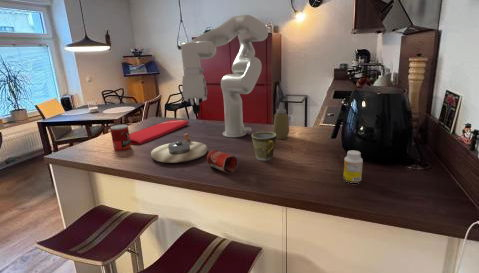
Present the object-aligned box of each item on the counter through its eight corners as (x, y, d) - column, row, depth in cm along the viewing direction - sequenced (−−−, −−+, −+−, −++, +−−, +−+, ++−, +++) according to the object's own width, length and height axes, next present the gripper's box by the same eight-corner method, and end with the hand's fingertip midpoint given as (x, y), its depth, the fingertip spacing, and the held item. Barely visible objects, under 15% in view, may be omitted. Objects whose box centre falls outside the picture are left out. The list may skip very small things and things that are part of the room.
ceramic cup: (248, 156, 121) (247, 133, 118) (269, 152, 125) (268, 130, 122) (262, 166, 110) (262, 142, 107) (285, 162, 114) (285, 137, 111)
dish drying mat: (117, 142, 149) (116, 136, 148) (170, 124, 184) (169, 118, 183) (139, 146, 142) (138, 139, 141) (189, 126, 177) (189, 120, 176)
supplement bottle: (346, 176, 99) (348, 148, 96) (363, 180, 95) (365, 151, 93) (340, 182, 95) (342, 153, 92) (357, 186, 91) (360, 156, 88)
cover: (193, 148, 127) (192, 139, 126) (184, 155, 119) (183, 145, 117) (175, 146, 129) (174, 138, 128) (165, 153, 121) (163, 144, 120)
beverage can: (218, 162, 116) (217, 147, 114) (238, 170, 108) (238, 153, 106) (204, 167, 111) (203, 151, 110) (224, 176, 103) (223, 159, 101)
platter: (213, 144, 135) (212, 133, 134) (197, 163, 112) (196, 150, 111) (165, 143, 139) (163, 133, 138) (141, 161, 116) (139, 149, 115)
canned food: (125, 151, 134) (121, 128, 131) (110, 150, 136) (106, 128, 132) (134, 146, 141) (131, 124, 138) (119, 145, 143) (116, 124, 140)
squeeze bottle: (271, 139, 143) (270, 103, 138) (275, 134, 150) (275, 100, 145) (287, 140, 140) (287, 104, 135) (290, 136, 147) (291, 101, 142)
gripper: (211, 70, 127) (214, 111, 132) (179, 71, 130) (184, 111, 135) (206, 72, 120) (210, 114, 125) (172, 73, 123) (178, 115, 128)
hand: (196, 113), depth 130 cm, fingers closed
